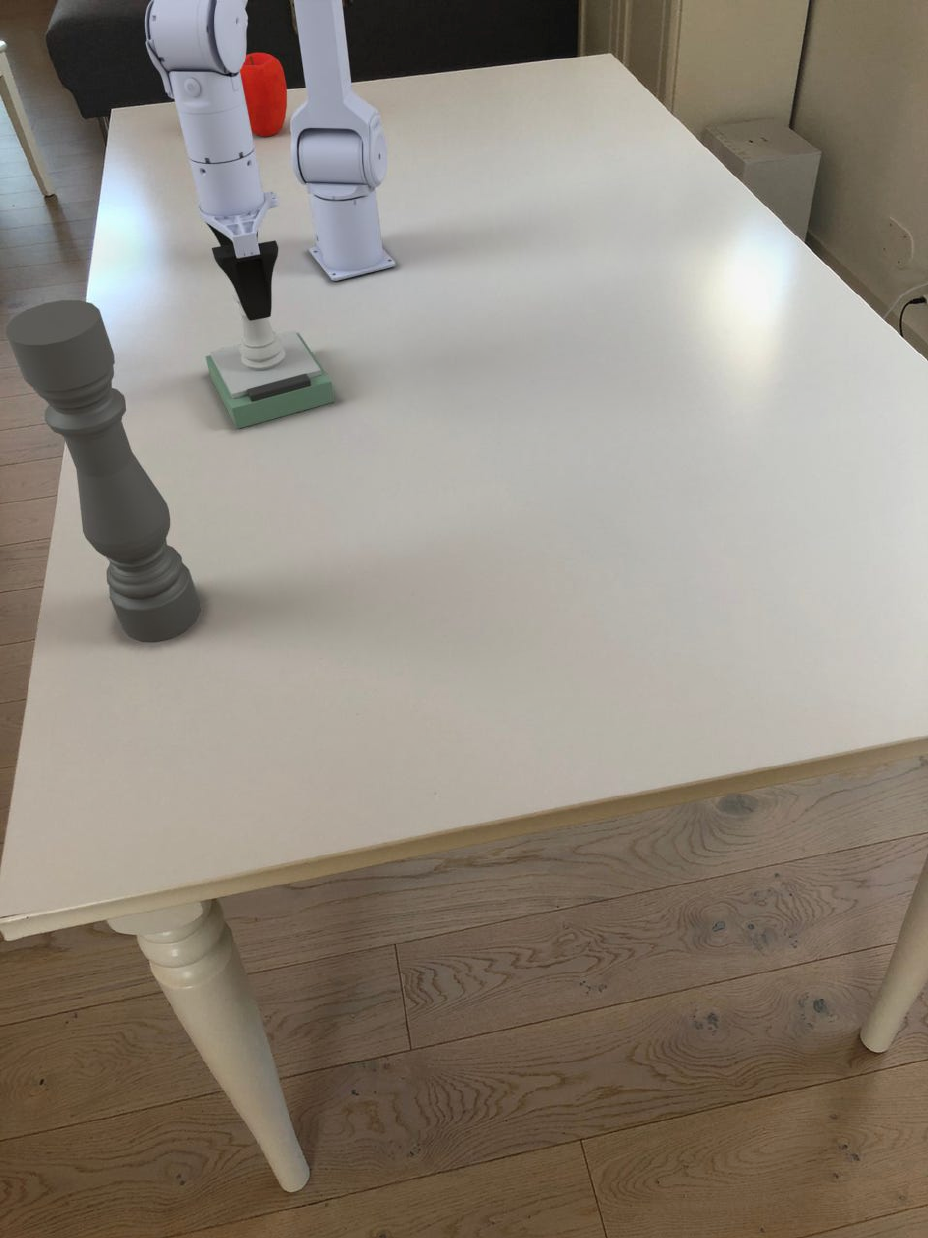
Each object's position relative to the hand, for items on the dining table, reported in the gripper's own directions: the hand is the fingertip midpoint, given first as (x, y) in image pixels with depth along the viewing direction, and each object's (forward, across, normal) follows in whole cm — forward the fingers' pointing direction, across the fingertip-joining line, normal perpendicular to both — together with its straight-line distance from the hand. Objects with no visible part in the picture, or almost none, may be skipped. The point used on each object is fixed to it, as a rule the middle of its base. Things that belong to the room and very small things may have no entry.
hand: (253, 299), depth 96 cm
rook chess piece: (+7, 0, 0) cm, 7 cm away
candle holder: (+10, -30, +14) cm, 35 cm away
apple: (+10, +74, -11) cm, 76 cm away
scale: (+9, -1, 0) cm, 9 cm away
